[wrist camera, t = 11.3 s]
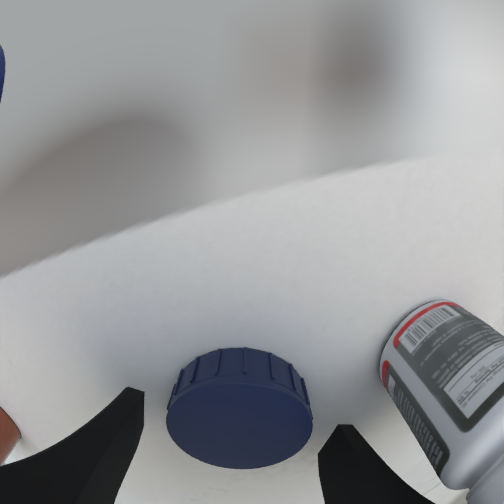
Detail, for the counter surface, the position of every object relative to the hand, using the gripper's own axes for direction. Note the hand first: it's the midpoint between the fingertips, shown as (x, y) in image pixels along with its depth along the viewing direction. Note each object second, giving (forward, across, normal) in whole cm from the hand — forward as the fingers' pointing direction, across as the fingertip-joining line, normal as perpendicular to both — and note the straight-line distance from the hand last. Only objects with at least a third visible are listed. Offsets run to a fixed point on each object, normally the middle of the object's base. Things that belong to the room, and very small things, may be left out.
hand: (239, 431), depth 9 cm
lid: (0, 0, 0) cm, 0 cm away
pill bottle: (+2, -7, -4) cm, 8 cm away
